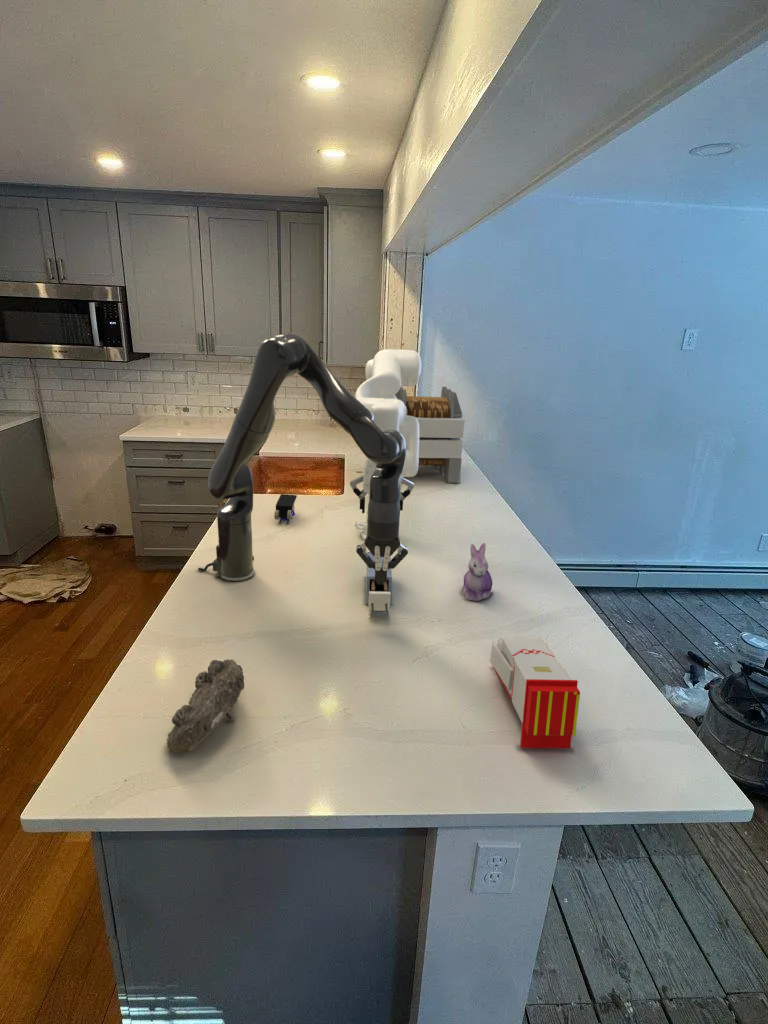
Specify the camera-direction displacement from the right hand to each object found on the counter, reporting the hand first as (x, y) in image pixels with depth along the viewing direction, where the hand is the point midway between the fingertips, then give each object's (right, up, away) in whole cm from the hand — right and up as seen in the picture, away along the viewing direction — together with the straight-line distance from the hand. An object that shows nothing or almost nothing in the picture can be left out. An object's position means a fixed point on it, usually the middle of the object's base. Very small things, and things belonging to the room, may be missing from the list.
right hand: (380, 512), depth 155 cm
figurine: (+27, -23, +5) cm, 36 cm away
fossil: (-32, -39, -47) cm, 69 cm away
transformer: (+18, +19, +120) cm, 123 cm away
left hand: (0, -17, -16) cm, 24 cm away
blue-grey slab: (-1, -22, +5) cm, 23 cm away
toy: (+30, -39, -38) cm, 62 cm away
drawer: (-1, -25, -6) cm, 26 cm away
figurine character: (-35, -3, +54) cm, 65 cm away
